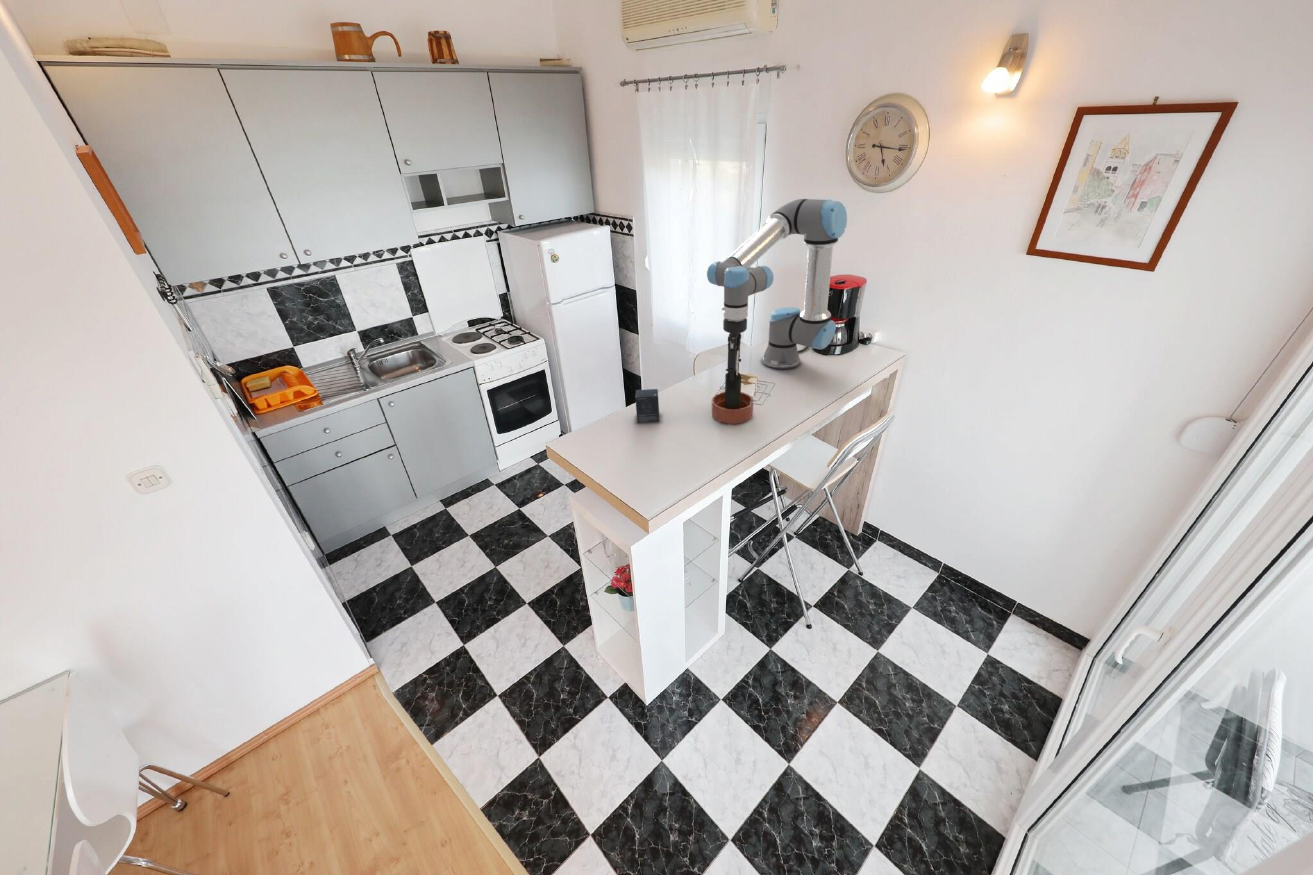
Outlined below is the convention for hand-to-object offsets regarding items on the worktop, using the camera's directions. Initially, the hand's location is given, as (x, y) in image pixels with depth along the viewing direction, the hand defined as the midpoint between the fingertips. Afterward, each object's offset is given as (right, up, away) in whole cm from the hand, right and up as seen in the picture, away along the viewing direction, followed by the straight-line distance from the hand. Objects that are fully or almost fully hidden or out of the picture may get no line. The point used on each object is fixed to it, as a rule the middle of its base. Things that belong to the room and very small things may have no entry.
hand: (733, 383), depth 172 cm
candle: (0, -9, +5) cm, 10 cm away
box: (-29, -12, +7) cm, 32 cm away
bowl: (+1, -11, +7) cm, 12 cm away
